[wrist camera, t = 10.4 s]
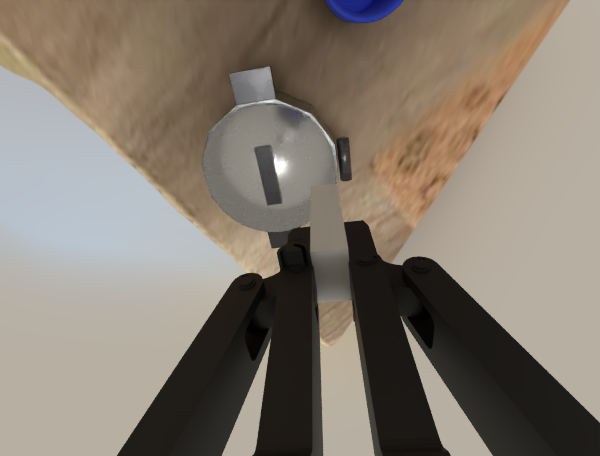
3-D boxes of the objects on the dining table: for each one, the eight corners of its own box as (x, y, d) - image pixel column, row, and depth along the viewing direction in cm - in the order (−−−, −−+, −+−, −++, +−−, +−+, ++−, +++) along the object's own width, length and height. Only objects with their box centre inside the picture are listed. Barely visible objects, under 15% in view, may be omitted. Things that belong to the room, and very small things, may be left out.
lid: (187, 115, 34) (181, 118, 33) (327, 92, 33) (327, 94, 31) (225, 235, 42) (222, 241, 41) (341, 221, 40) (342, 227, 39)
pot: (195, 79, 39) (174, 84, 33) (336, 53, 37) (342, 53, 31) (240, 230, 50) (231, 255, 44) (351, 215, 48) (357, 239, 42)
